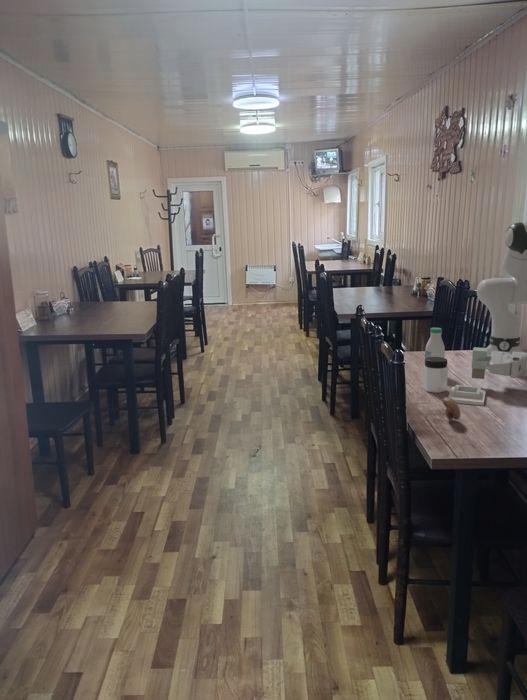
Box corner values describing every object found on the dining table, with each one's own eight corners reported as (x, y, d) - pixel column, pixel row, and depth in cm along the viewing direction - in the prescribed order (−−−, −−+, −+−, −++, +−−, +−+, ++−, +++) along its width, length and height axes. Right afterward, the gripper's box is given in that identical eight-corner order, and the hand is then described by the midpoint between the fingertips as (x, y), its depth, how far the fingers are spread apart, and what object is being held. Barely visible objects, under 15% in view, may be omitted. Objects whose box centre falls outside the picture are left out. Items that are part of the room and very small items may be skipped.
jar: (435, 394, 209) (436, 363, 207) (418, 389, 216) (419, 358, 213) (451, 390, 214) (452, 359, 212) (433, 385, 221) (435, 355, 218)
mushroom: (441, 416, 186) (443, 393, 184) (461, 418, 184) (463, 395, 182) (438, 423, 179) (440, 399, 178) (459, 426, 177) (460, 402, 175)
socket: (451, 389, 215) (452, 381, 214) (485, 392, 210) (486, 385, 210) (447, 401, 201) (447, 393, 200) (483, 405, 196) (484, 397, 195)
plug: (471, 374, 220) (473, 347, 217) (485, 375, 218) (487, 348, 215) (470, 378, 215) (472, 350, 213) (484, 379, 213) (487, 351, 211)
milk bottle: (444, 374, 236) (447, 327, 232) (442, 378, 229) (444, 330, 225) (425, 372, 239) (428, 326, 235) (422, 376, 233) (424, 329, 228)
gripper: (517, 348, 218) (479, 345, 224) (517, 362, 200) (475, 359, 206) (515, 364, 220) (478, 361, 225) (515, 379, 202) (474, 375, 207)
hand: (476, 360), depth 215 cm, fingers closed on plug, 5 cm apart
